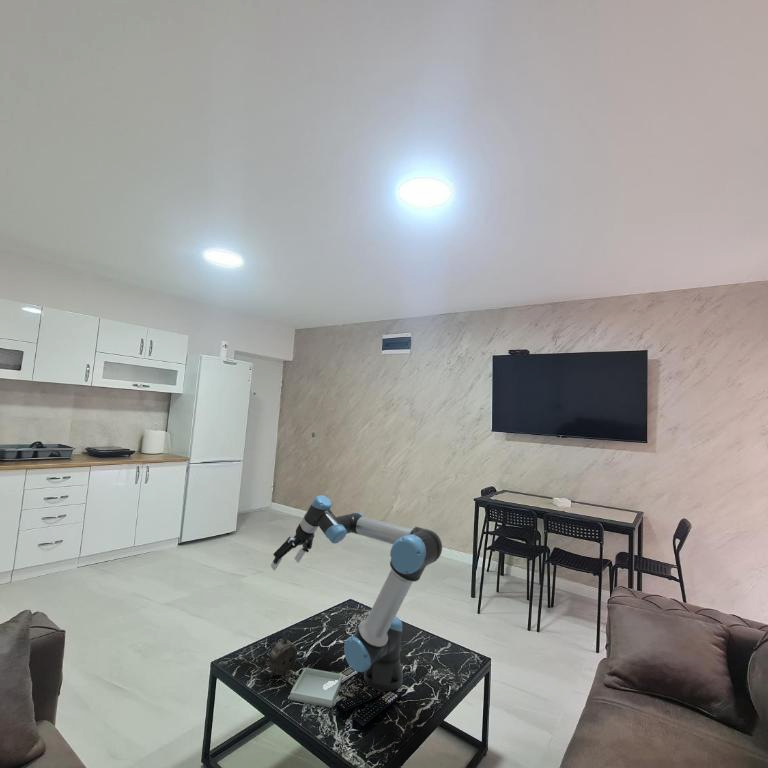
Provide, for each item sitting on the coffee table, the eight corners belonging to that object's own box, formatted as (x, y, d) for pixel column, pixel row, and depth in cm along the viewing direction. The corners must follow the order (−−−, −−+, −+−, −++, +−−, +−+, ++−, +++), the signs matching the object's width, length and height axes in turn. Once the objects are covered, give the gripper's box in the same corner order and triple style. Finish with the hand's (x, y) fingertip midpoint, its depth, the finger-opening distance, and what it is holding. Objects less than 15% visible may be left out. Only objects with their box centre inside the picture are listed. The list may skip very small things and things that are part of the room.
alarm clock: (289, 666, 165) (294, 624, 166) (297, 673, 161) (302, 629, 162) (265, 677, 157) (269, 632, 158) (273, 684, 153) (277, 638, 154)
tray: (342, 681, 158) (343, 674, 158) (331, 707, 143) (332, 700, 143) (304, 674, 161) (304, 667, 161) (289, 699, 146) (290, 692, 146)
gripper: (322, 516, 188) (301, 551, 193) (280, 525, 168) (257, 564, 173) (332, 529, 184) (310, 563, 189) (290, 539, 164) (266, 578, 169)
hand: (284, 564), depth 181 cm, fingers open, 13 cm apart
